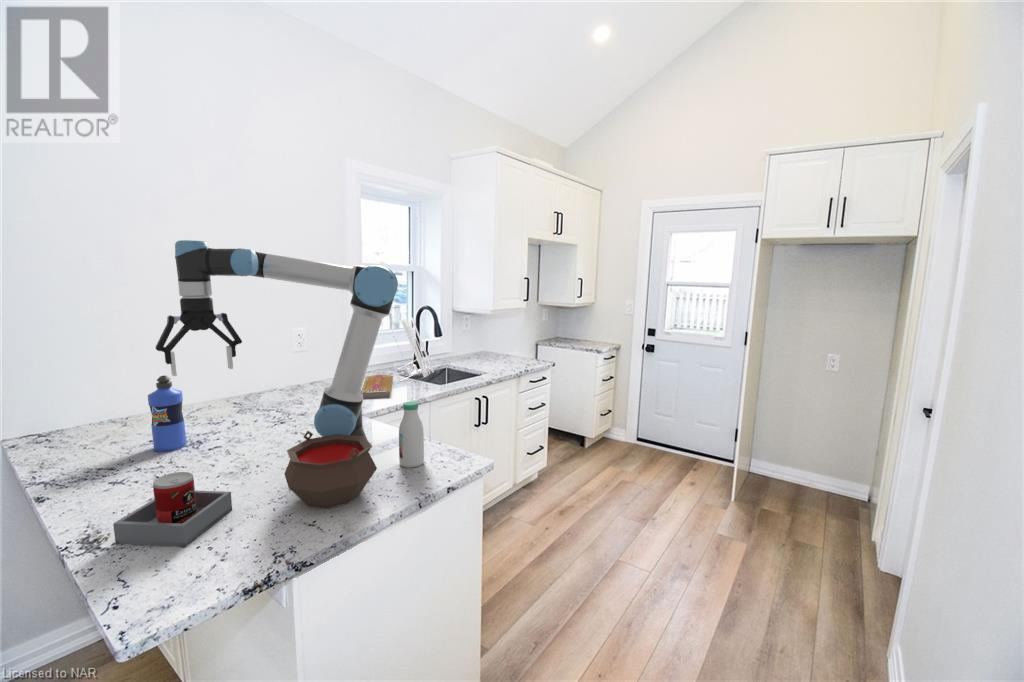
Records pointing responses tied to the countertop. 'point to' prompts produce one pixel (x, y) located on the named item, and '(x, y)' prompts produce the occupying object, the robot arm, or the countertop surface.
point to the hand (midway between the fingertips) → (203, 371)
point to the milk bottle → (411, 437)
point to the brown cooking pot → (329, 469)
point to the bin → (147, 531)
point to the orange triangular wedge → (377, 386)
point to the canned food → (174, 497)
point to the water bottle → (167, 416)
